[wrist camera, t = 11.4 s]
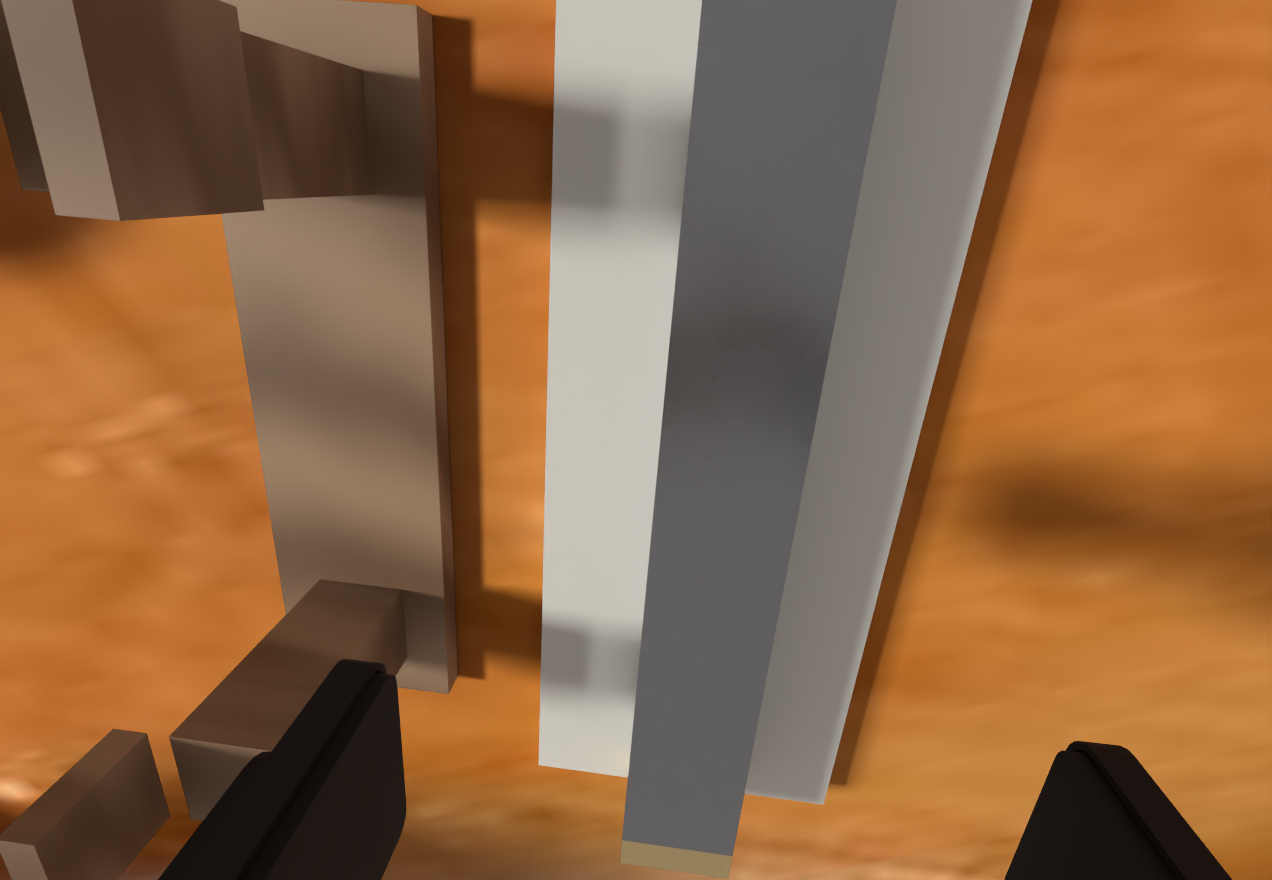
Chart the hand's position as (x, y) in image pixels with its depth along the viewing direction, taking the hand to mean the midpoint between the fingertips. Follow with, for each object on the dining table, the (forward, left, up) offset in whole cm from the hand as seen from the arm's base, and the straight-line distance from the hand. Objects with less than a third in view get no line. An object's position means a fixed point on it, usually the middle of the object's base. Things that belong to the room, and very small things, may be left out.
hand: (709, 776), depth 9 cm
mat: (0, -1, -12) cm, 12 cm away
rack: (0, +11, -12) cm, 17 cm away
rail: (0, 0, -11) cm, 11 cm away
